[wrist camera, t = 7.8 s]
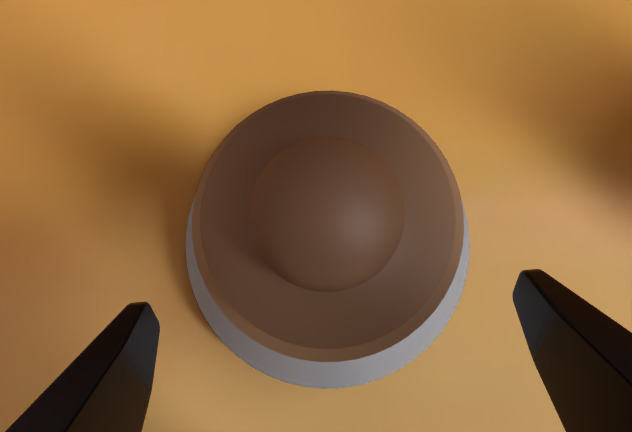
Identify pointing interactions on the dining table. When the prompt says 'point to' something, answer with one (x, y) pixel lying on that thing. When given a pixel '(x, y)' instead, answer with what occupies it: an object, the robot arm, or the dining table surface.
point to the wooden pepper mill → (327, 226)
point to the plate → (326, 371)
